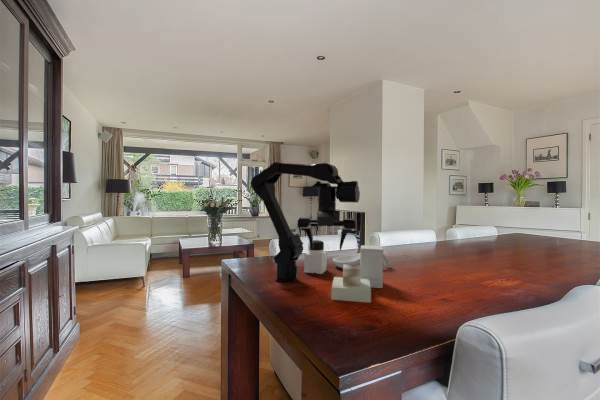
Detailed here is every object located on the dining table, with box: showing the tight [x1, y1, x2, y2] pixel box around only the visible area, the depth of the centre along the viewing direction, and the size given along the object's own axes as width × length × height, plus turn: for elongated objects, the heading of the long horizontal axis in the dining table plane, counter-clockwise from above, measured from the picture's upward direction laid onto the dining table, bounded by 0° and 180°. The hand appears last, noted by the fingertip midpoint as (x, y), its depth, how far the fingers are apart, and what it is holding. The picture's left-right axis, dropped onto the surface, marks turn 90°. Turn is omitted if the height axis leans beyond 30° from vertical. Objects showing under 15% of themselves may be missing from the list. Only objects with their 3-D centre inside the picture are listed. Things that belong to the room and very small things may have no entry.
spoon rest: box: [332, 252, 391, 269], centre depth 123 cm, size 24×12×7 cm, turn 95°
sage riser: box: [330, 276, 372, 303], centre depth 89 cm, size 11×11×4 cm
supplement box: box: [359, 244, 384, 289], centre depth 100 cm, size 7×7×13 cm
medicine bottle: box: [303, 239, 328, 275], centre depth 116 cm, size 7×7×12 cm
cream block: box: [342, 264, 361, 286], centre depth 89 cm, size 5×5×5 cm
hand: (326, 249), depth 98 cm, fingers open, 9 cm apart
